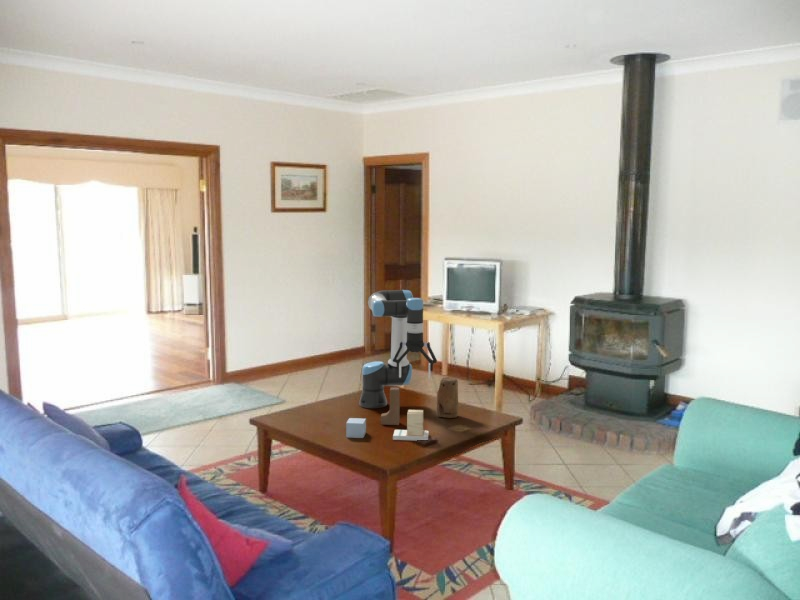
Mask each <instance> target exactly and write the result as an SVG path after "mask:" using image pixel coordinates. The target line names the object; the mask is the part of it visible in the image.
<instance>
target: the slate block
mask: <svg viewBox="0 0 800 600" xmlns="http://www.w3.org/2000/svg"><path fill="white" fill-rule="evenodd" d="M345 425H346V426H345V427H346V428H345V429H346V430H345V431H346V432H345V433H346V434H345V435H346V438H349V439H351V438H353V439H354V438H355V439H363V438H364V437H365V435H366V434H367V418H360V417H358V418H357V417H355V418H354V417H349V418H348V419H347V420H346V423H345Z"/></svg>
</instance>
